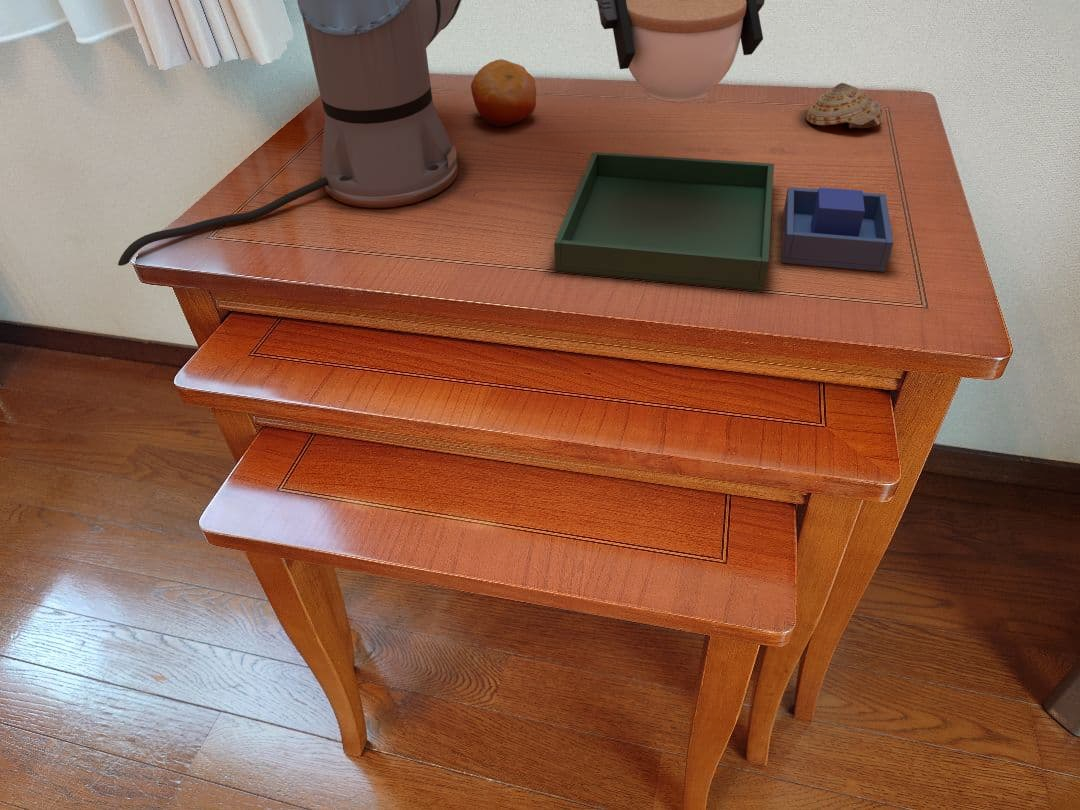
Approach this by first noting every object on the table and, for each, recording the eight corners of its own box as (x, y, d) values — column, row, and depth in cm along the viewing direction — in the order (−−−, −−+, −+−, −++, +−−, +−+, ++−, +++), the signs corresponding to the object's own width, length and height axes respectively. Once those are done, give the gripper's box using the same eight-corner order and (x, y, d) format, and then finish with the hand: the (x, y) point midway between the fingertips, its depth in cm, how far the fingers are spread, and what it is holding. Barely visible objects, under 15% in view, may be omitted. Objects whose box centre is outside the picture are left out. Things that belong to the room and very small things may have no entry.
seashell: (876, 124, 91) (819, 84, 93) (847, 162, 96) (794, 124, 97) (900, 100, 96) (846, 62, 97) (872, 137, 101) (820, 101, 102)
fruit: (504, 87, 106) (519, 41, 99) (535, 133, 105) (553, 89, 98) (452, 104, 103) (464, 57, 96) (484, 151, 102) (498, 107, 94)
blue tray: (781, 263, 75) (786, 233, 73) (783, 214, 82) (788, 186, 80) (885, 272, 73) (893, 242, 71) (878, 222, 80) (885, 193, 78)
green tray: (555, 271, 76) (554, 242, 74) (592, 178, 89) (592, 151, 87) (763, 291, 72) (768, 261, 70) (769, 190, 86) (774, 163, 84)
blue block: (811, 245, 76) (819, 207, 73) (810, 224, 79) (818, 187, 76) (855, 249, 75) (865, 210, 73) (853, 227, 78) (862, 190, 75)
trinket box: (734, 115, 70) (749, -1, 63) (612, 110, 72) (614, -3, 65) (736, 70, 77) (749, -38, 71) (625, 67, 79) (629, -38, 73)
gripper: (756, -165, 76) (798, 60, 75) (514, -146, 73) (554, 88, 72) (790, -233, 68) (836, 17, 67) (522, -214, 65) (566, 46, 65)
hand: (691, 54), depth 70 cm, fingers closed on trinket box, 11 cm apart
